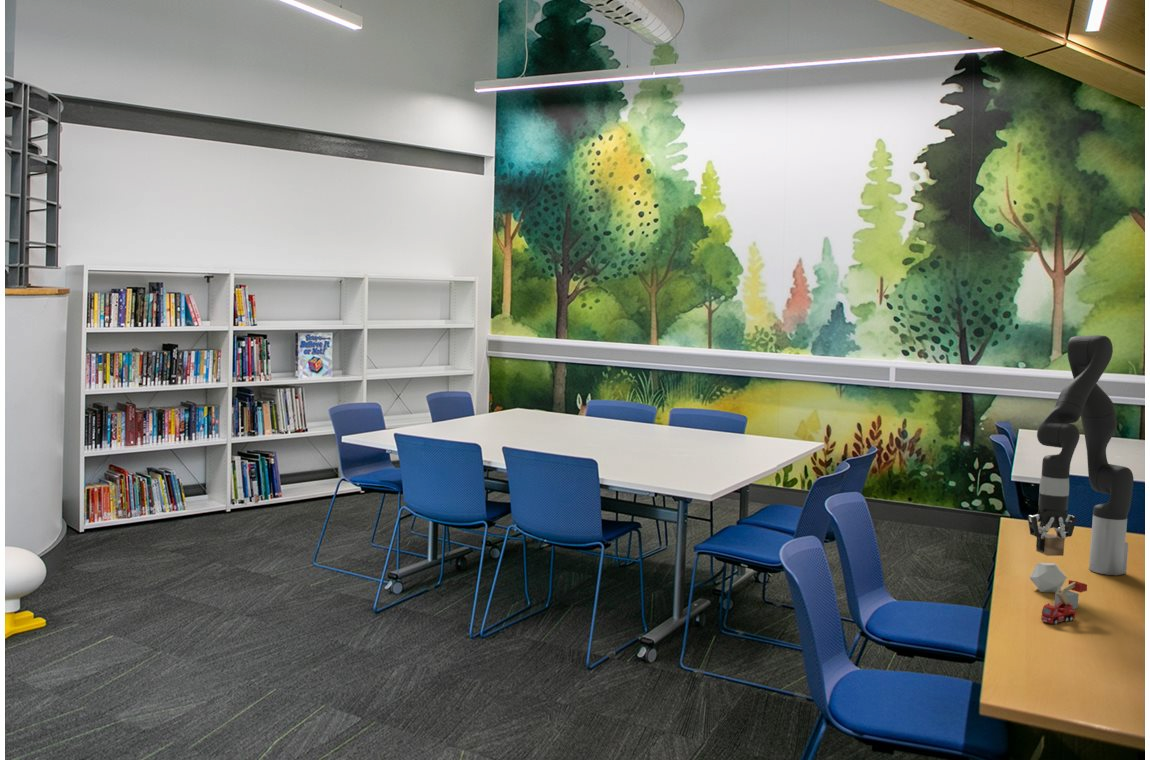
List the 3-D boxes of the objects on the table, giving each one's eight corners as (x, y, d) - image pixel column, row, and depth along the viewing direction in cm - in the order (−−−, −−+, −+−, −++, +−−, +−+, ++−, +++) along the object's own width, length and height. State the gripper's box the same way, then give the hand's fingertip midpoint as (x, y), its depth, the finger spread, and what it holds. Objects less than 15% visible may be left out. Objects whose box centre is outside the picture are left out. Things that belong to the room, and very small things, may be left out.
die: (1062, 599, 263) (1076, 570, 266) (1034, 582, 264) (1048, 553, 267) (1047, 601, 271) (1061, 572, 273) (1020, 584, 272) (1034, 556, 275)
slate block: (1064, 603, 258) (1065, 589, 258) (1077, 608, 254) (1078, 593, 254) (1054, 605, 256) (1055, 591, 256) (1068, 610, 252) (1069, 595, 252)
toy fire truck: (1039, 621, 243) (1041, 585, 242) (1073, 614, 249) (1076, 578, 248) (1051, 625, 240) (1053, 588, 239) (1085, 618, 246) (1087, 582, 245)
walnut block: (1052, 550, 271) (1053, 533, 271) (1063, 555, 266) (1064, 538, 266) (1036, 550, 271) (1037, 533, 270) (1047, 555, 266) (1048, 538, 265)
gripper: (1068, 489, 272) (1064, 547, 273) (1022, 489, 270) (1018, 547, 271) (1086, 495, 264) (1081, 554, 266) (1038, 495, 262) (1034, 554, 264)
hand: (1049, 550), depth 269 cm, fingers closed on walnut block, 5 cm apart
